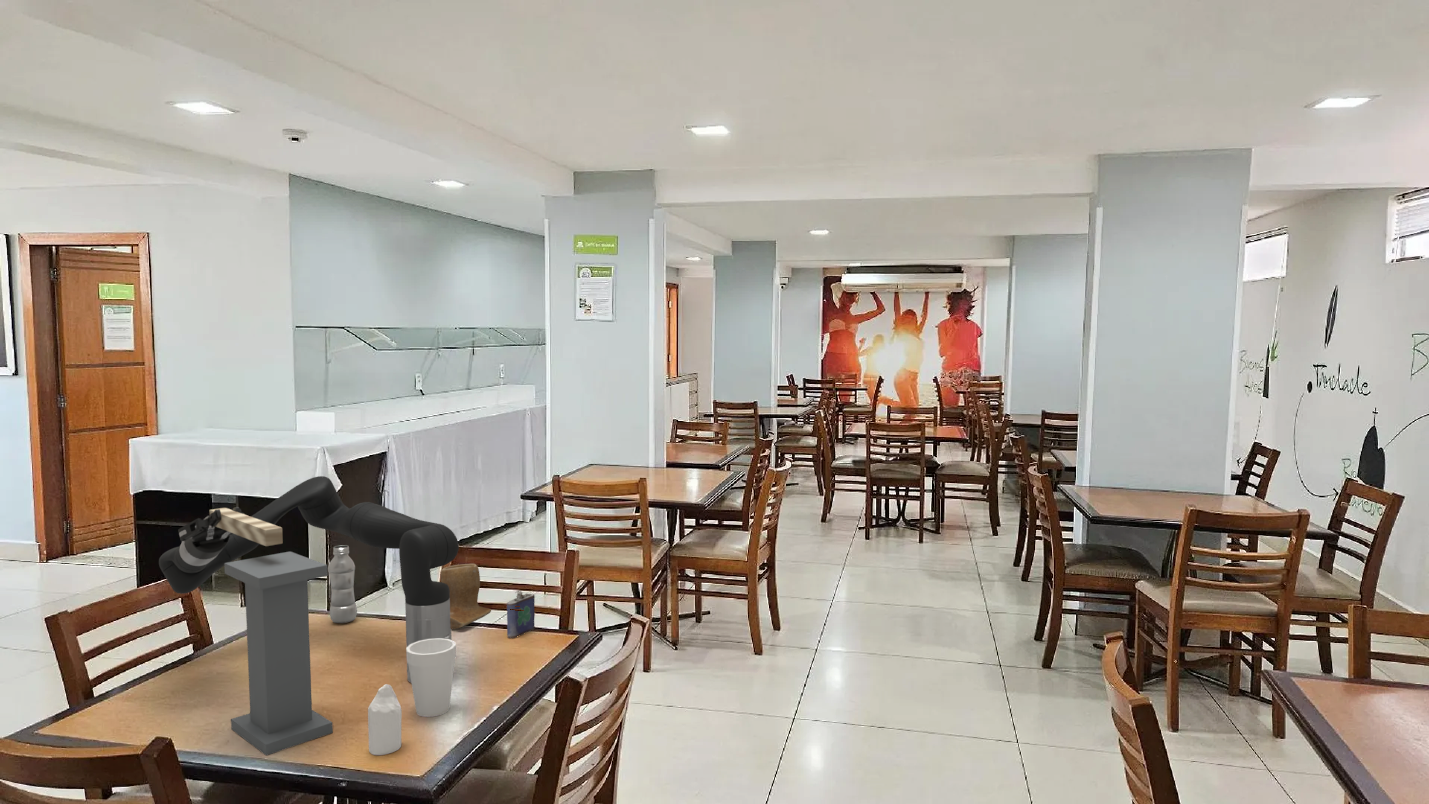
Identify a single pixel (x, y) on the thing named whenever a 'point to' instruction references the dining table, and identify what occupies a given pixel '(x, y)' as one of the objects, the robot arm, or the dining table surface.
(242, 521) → the light wooden bar
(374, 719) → the white pointed cylinder
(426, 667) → the foam cup
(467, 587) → the brown curved chair
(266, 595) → the stand
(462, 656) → the dining table surface
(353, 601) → the plastic bottle
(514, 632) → the flask
